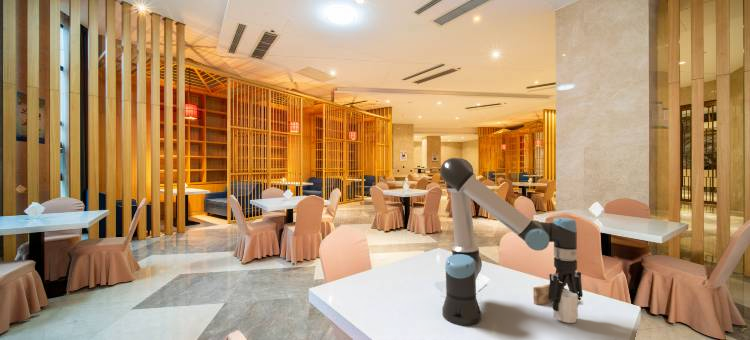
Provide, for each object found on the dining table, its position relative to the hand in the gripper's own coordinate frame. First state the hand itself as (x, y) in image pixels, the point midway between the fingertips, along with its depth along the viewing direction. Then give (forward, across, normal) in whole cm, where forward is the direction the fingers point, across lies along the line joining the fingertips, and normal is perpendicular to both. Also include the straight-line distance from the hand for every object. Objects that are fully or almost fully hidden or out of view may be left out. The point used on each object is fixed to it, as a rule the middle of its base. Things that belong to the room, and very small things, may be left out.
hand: (565, 316), depth 113 cm
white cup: (+1, 0, 0) cm, 1 cm away
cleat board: (+1, +8, +13) cm, 16 cm away
